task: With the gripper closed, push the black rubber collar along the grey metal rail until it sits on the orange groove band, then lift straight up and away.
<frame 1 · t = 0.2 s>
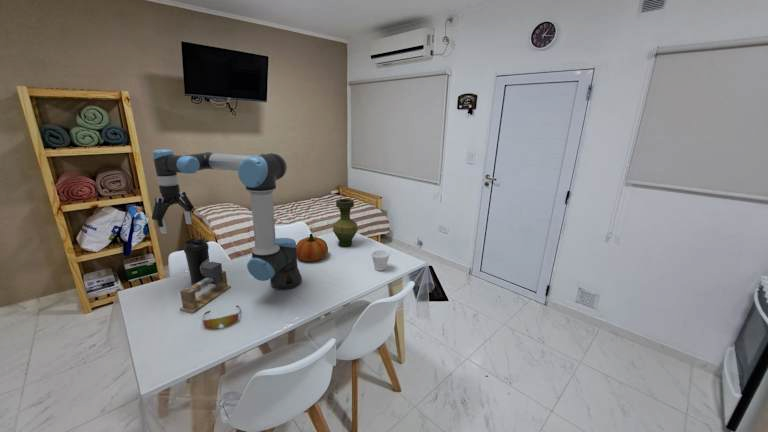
hand: (177, 228, 148), 28 cm above the table, fingers open, 13 cm apart
pumpkin: (311, 257, 186), on the table
vase: (345, 245, 205), on the table
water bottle: (202, 283, 154), on the table
rail: (207, 298, 141), on the table
cup: (380, 269, 174), on the table
sunglasses: (222, 318, 128), on the table
collar: (212, 274, 143), point 10 cm above the table, slide at -5.0 cm
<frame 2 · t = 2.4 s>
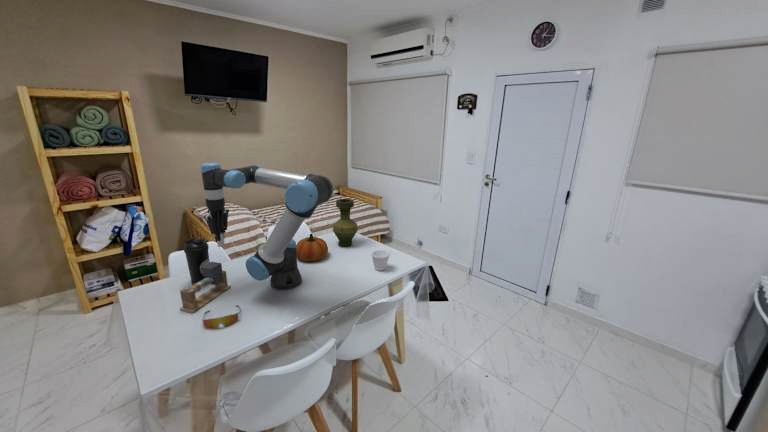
hand: (221, 246, 147), 21 cm above the table, fingers closed
nothing on the table moved.
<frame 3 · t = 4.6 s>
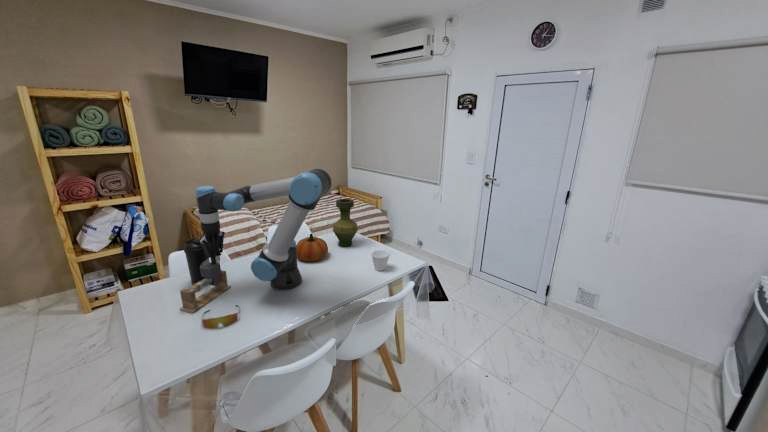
hand: (216, 268, 145), 11 cm above the table, fingers closed
collar: (211, 274, 142), point 10 cm above the table, slide at -4.2 cm, touching gripper
everything else where it was.
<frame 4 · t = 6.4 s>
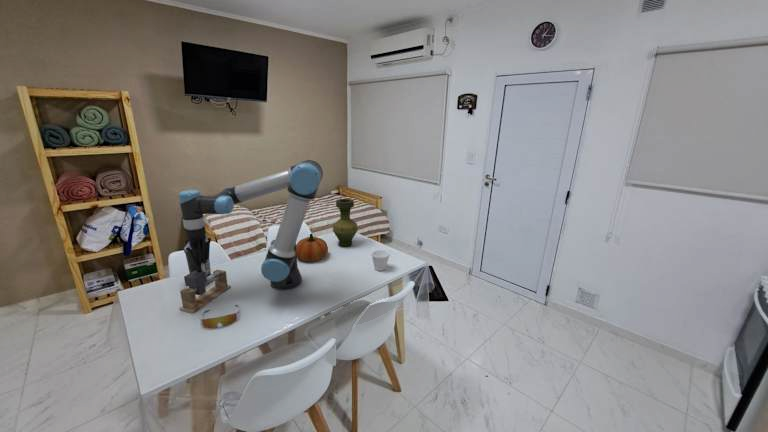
hand: (202, 277, 137), 11 cm above the table, fingers closed
collar: (196, 283, 134), point 10 cm above the table, slide at 4.1 cm, touching gripper
everything else where it was.
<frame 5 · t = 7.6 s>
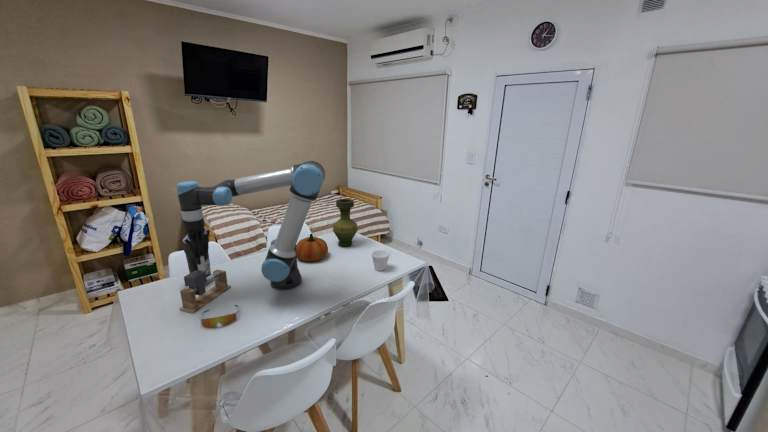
hand: (202, 269, 136), 15 cm above the table, fingers closed
collar: (196, 283, 134), point 10 cm above the table, slide at 4.2 cm
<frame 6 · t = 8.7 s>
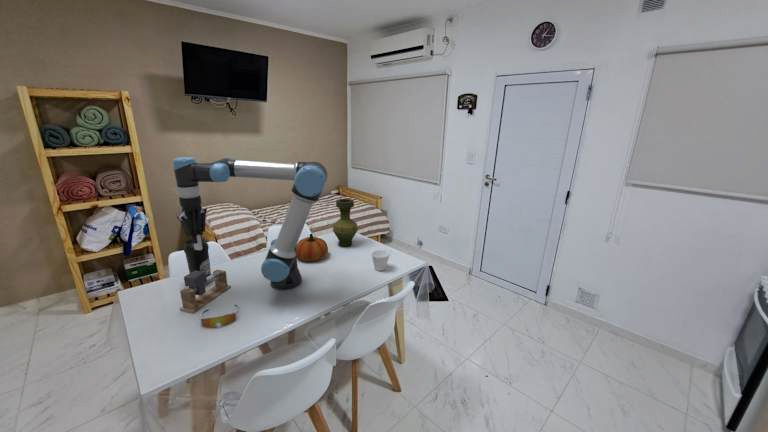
hand: (198, 249, 133), 24 cm above the table, fingers closed
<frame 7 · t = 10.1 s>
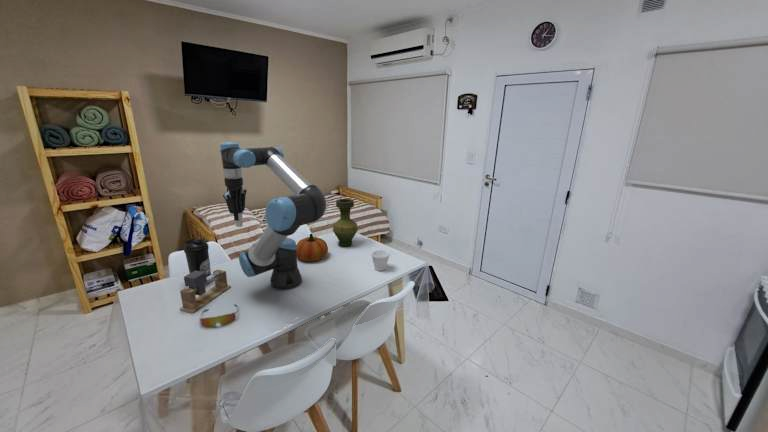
hand: (239, 226, 148), 29 cm above the table, fingers closed
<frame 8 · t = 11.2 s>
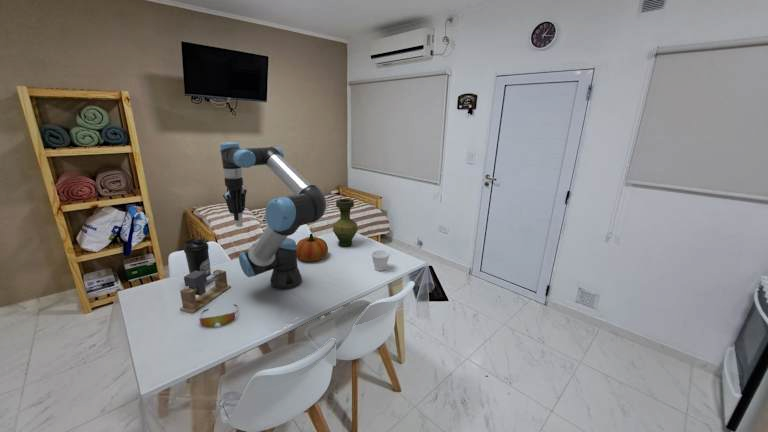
hand: (239, 226, 148), 29 cm above the table, fingers closed
at the end: collar slide at 4.2 cm; collar touching nothing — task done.
